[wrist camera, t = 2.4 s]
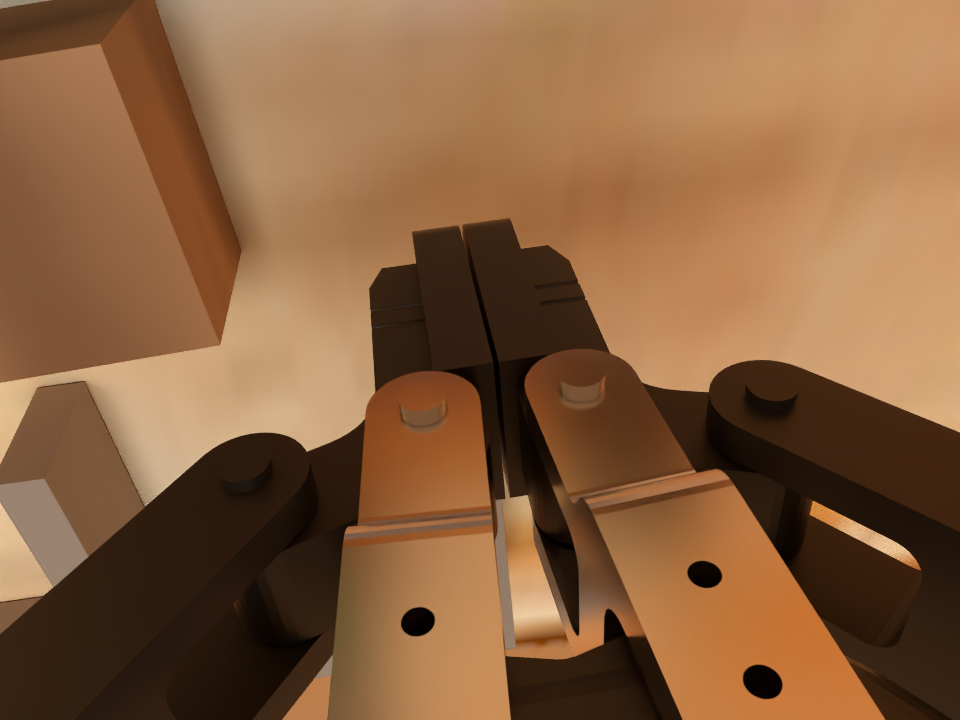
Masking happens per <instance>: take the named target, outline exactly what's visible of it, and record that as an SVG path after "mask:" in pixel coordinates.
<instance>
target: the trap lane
mask: <svg viewBox="0 0 960 720" xmlns="http://www.w3.org/2000/svg"><path fill="white" fill-rule="evenodd" d="M0 503H1V504H2V506H3V508H4V509H5V511H6V512H7V514H8V516H9V517H10V519H11V520H12V522H13V523H14V525H15V527H16V528H17V530H18V531H19V533H20V535H21V536H22V538H23V539H24V541H25V543H26V544H27V546H28V547H29V549H30V550H31V552H32V554H33V555H34V557H35V558H36V560H37V562H38V563H39V565H40V566H41V568H42V570H43V571H44V573H45V574H46V576H47V578H48V579H49V581H50V582H51V584H52V585H53V587H54V586H56V585H57V584H58V583H59V582H60V581H61V580H62V579H64V578H65V577H66V576H67V575H68V574H69V573H70V572H72V571H73V570H74V569H75V568H76V567H77V566H78V565H80V564H81V563H82V562H83V561H84V560H85V559H86V558H88V557H89V556H90V555H91V554H92V553H93V552H94V551H96V550H97V549H98V548H99V547H100V546H101V545H102V544H103V543H105V542H106V541H107V540H108V539H109V538H110V537H111V536H113V535H114V534H115V533H116V532H117V531H118V530H119V529H121V528H122V527H123V526H124V525H125V524H126V523H127V522H129V521H130V520H131V519H132V518H133V517H134V516H135V515H137V514H138V513H139V512H140V511H141V510H142V509H143V508H145V507H144V505H143V503H142V501H141V499H140V497H139V495H138V493H137V491H136V489H135V487H134V484H133V482H132V480H131V478H130V476H129V474H128V472H127V470H126V468H125V466H124V464H123V461H122V459H121V457H120V455H119V453H118V451H117V449H116V447H115V445H114V443H113V441H112V438H111V436H110V434H109V432H108V430H107V428H106V426H105V424H104V422H103V420H102V418H101V415H100V413H99V411H98V409H97V407H96V405H95V403H94V401H93V399H92V397H91V395H90V392H89V390H88V388H87V386H86V384H85V382H79V383H72V384H64V385H57V386H49V387H42V388H37V390H36V392H35V394H34V396H33V398H32V400H31V402H30V404H29V406H28V408H27V410H26V413H25V415H24V417H23V419H22V421H21V423H20V425H19V427H18V429H17V431H16V433H15V435H14V437H13V440H12V442H11V444H10V446H9V448H8V450H7V452H6V454H5V456H4V458H3V460H2V462H1V465H0ZM496 508H497V519H498V533H497V536H496V539H495V547H496V557H497V568H498V578H499V588H500V598H501V608H502V619H503V629H504V639H505V649H512V648H516V644H515V634H514V623H513V613H512V602H511V592H510V581H509V571H508V561H507V550H506V540H505V529H504V519H503V509H502V499H500V500H496ZM41 598H42V597H39V598H32V599H25V600H18V601H11V602H4V603H0V634H1V633H2V632H3V631H4V630H5V629H6V628H8V627H9V626H10V625H11V624H12V623H13V622H14V621H16V620H17V619H18V618H19V617H20V616H21V615H22V614H24V613H25V612H26V611H27V610H28V609H29V608H30V607H32V606H33V605H34V604H35V603H36V602H37V601H38V600H40V599H41ZM332 662H333V655H332V656H331V658H330V659H329V660H328V661H327V663H326V664H325V665H324V667H323V668H322V669H321V670H320V672H319V673H318V674H317V676H316V677H315V678H320V677H327V676H331V673H332Z"/></svg>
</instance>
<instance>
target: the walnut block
mask: <svg viewBox="0 0 960 720" xmlns="http://www.w3.org/2000/svg"><path fill="white" fill-rule="evenodd" d="M240 255H241V248H240V245H239V242H238V239H237V237H236V234H235V231H234V228H233V225H232V222H231V219H230V217H229V214H228V211H227V208H226V205H225V202H224V199H223V197H222V194H221V191H220V188H219V185H218V182H217V179H216V177H215V174H214V171H213V168H212V165H211V162H210V159H209V157H208V154H207V151H206V148H205V145H204V142H203V139H202V137H201V134H200V131H199V128H198V125H197V122H196V119H195V117H194V114H193V111H192V108H191V105H190V102H189V99H188V97H187V94H186V91H185V88H184V85H183V82H182V79H181V77H180V74H179V71H178V68H177V65H176V62H175V59H174V57H173V54H172V51H171V48H170V45H169V42H168V39H167V37H166V34H165V31H164V28H163V25H162V22H161V19H160V17H159V14H158V11H157V8H156V5H155V2H154V0H50V1H44V2H38V3H32V4H26V5H20V6H14V7H8V8H2V9H0V383H1V382H7V381H13V380H19V379H24V378H30V377H36V376H42V375H48V374H54V373H59V372H65V371H71V370H77V369H83V368H89V367H94V366H100V365H106V364H112V363H118V362H124V361H129V360H135V359H141V358H147V357H153V356H159V355H164V354H170V353H176V352H182V351H188V350H194V349H200V348H205V347H211V346H217V345H220V343H221V339H222V335H223V330H224V326H225V321H226V317H227V312H228V308H229V303H230V299H231V295H232V290H233V286H234V281H235V277H236V272H237V268H238V263H239V259H240Z"/></svg>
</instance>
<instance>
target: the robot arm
mask: <svg viewBox="0 0 960 720" xmlns="http://www.w3.org/2000/svg"><path fill="white" fill-rule="evenodd" d="M462 234H463V240H462V236H461V232H460V228H459V225H458V226H450V227H443V228H436V229H429V230H421V231H414V232H412V236H413V243H414V250H415V257H416V264H411V265H404V266H396V267H389V268H382V269H381V271H380V273H379V274H378V276H377V277H376V279H375V280H374V282H373V284H372V285H371V287H370V288H369V292H370V309H371V325H372V342H373V359H374V376H375V394H374V395H373V396H372V398H371V399H370V401H369V403H368V405H367V409H366V418H365V420H364V421H363V422H362V423H361V424H360V425H359V426H358V427H356V428H355V429H354V430H352V431H351V432H350V433H348V434H346V435H345V436H343V437H341V438H339V439H337V440H335V441H333V442H331V443H328V444H326V445H323V446H321V447H318V448H316V449H313V450H310V451H308V452H306V450H305V449H304V447H303V446H302V445H301V444H300V443H299V442H297V441H296V440H294V439H292V438H290V437H288V436H285V435H281V434H276V433H254V434H248V435H244V436H240V437H237V438H234V439H231V440H229V441H226V442H224V443H222V444H220V445H218V446H217V447H215V448H213V449H212V450H210V451H209V452H208V453H207V454H205V455H204V456H203V457H202V458H200V459H199V460H198V461H197V462H196V463H195V464H194V465H193V466H191V467H190V468H189V469H188V470H187V471H186V472H185V473H183V474H182V475H181V476H180V477H179V478H178V479H177V480H175V481H174V482H173V483H172V484H171V485H170V486H169V487H167V488H166V489H165V490H164V491H163V492H162V493H161V494H159V495H158V496H157V497H156V498H155V499H154V500H153V501H151V502H150V503H149V504H148V505H147V506H146V507H145V508H143V509H142V510H141V511H140V512H139V513H138V514H137V515H135V516H134V517H133V518H132V519H131V520H130V521H129V522H127V523H126V524H125V525H124V526H123V527H122V528H121V529H119V530H118V531H117V532H116V533H115V534H114V535H113V536H111V537H110V538H109V539H108V540H107V541H106V542H105V543H103V544H102V545H101V546H100V547H99V548H98V549H97V550H96V551H94V552H93V553H92V554H91V555H90V556H89V557H88V558H86V559H85V560H84V561H83V562H82V563H81V564H80V565H78V566H77V567H76V568H75V569H74V570H73V571H72V572H70V573H69V574H68V575H67V576H66V577H65V578H64V579H62V580H61V581H60V582H59V583H58V584H57V585H56V586H54V587H53V588H52V589H51V590H50V591H49V592H48V593H46V594H45V595H44V596H43V597H42V598H41V599H40V600H38V601H37V602H36V603H35V604H34V605H33V606H32V607H30V608H29V609H28V610H27V611H26V612H25V613H24V614H22V615H21V616H20V617H19V618H18V619H17V620H16V621H14V622H13V623H12V624H11V625H10V626H9V627H8V628H6V629H5V630H4V631H3V632H2V633H1V634H0V720H282V719H283V718H284V716H285V715H286V714H287V712H288V711H289V710H290V709H291V707H292V706H293V705H294V704H295V702H296V701H297V699H298V698H299V697H300V696H301V695H302V693H303V692H304V691H305V690H306V688H307V687H308V685H309V684H310V683H311V682H312V681H313V679H314V678H315V677H316V676H317V674H318V673H319V672H320V670H321V669H322V668H323V667H324V665H325V664H326V663H327V661H328V660H329V659H330V658H331V656H332V655H333V662H332V673H331V685H330V697H329V708H328V719H327V720H960V433H959V432H957V431H955V430H952V429H950V428H947V427H945V426H942V425H940V424H937V423H935V422H932V421H930V420H927V419H925V418H923V417H920V416H918V415H915V414H913V413H910V412H908V411H905V410H903V409H900V408H898V407H895V406H893V405H891V404H888V403H886V402H883V401H881V400H878V399H876V398H873V397H871V396H868V395H866V394H863V393H861V392H859V391H856V390H854V389H851V388H849V387H846V386H844V385H841V384H839V383H836V382H834V381H831V380H829V379H827V378H824V377H822V376H819V375H817V374H814V373H812V372H809V371H807V370H804V369H802V368H799V367H797V366H794V365H791V364H787V363H783V362H777V361H770V360H754V361H746V362H740V363H737V364H734V365H731V366H729V367H727V368H725V369H723V370H722V371H721V372H719V373H718V374H717V375H716V376H715V377H714V378H713V380H712V382H711V384H710V388H709V393H707V392H693V391H679V390H669V389H662V388H658V387H653V386H650V385H647V384H644V383H642V382H641V380H640V379H639V377H638V375H637V374H636V372H635V371H634V369H633V368H632V367H631V366H630V365H629V364H628V363H627V362H626V361H624V360H622V359H621V358H619V357H617V356H615V355H613V354H610V352H609V350H608V348H607V345H606V343H605V341H604V339H603V336H602V334H601V332H600V329H599V327H598V325H597V323H596V320H595V318H594V316H593V314H592V311H591V309H590V307H589V305H588V302H587V300H585V296H584V293H583V291H582V289H581V287H580V284H578V280H577V278H576V275H575V273H574V271H573V268H572V266H571V264H570V262H569V260H568V259H566V258H565V257H563V256H562V255H561V254H559V253H558V252H557V251H555V250H554V249H552V248H551V247H550V246H548V245H546V246H539V247H532V248H525V249H521V248H520V245H519V242H518V239H517V237H516V234H515V231H514V228H513V226H512V223H511V220H510V219H509V218H508V219H501V220H493V221H486V222H479V223H471V224H464V225H462ZM502 464H503V467H502ZM503 469H504V473H505V478H506V482H507V486H508V491H509V495H510V498H511V497H518V496H524V495H528V498H529V501H530V505H531V509H532V517H533V534H534V542H535V546H536V549H537V552H538V554H539V557H540V560H541V563H542V566H543V569H544V572H545V575H546V577H547V580H548V583H549V586H550V589H551V592H552V595H553V598H554V600H555V603H556V606H557V609H558V612H559V615H560V618H561V621H562V623H563V626H564V629H565V632H566V635H567V638H568V641H569V644H570V647H571V649H572V652H573V656H574V657H572V658H568V659H563V660H562V659H561V660H560V659H559V660H554V659H539V658H524V657H508V656H506V649H505V639H504V629H503V619H502V608H501V598H500V588H499V578H498V568H497V557H496V547H495V539H496V536H497V533H498V519H497V508H496V500H500V499H505V490H504V479H503ZM813 501H815V502H817V503H819V504H821V505H823V506H825V507H827V508H829V509H831V510H833V511H835V512H837V513H839V514H841V515H843V516H845V517H847V518H849V519H851V520H853V521H855V522H857V523H859V524H861V525H863V526H865V527H867V528H869V529H871V530H873V531H875V532H877V533H879V534H881V535H883V536H885V537H887V538H889V539H891V540H893V541H895V542H897V543H898V544H900V545H901V546H903V547H904V548H905V549H907V550H908V551H909V552H910V553H911V554H912V555H913V556H914V558H915V559H916V561H917V562H918V564H919V566H920V568H921V571H920V570H917V569H915V568H912V567H910V566H908V565H906V564H904V563H902V562H900V561H899V560H897V559H895V558H893V557H891V556H889V555H887V554H885V553H883V552H881V551H879V550H877V549H875V548H873V547H871V546H869V545H867V544H865V543H863V542H861V541H859V540H858V539H856V538H854V537H852V536H850V535H848V534H846V533H844V532H842V531H840V530H838V529H836V528H834V527H832V526H830V525H828V524H826V523H824V522H822V521H820V520H818V519H817V518H815V517H813V516H811V515H810V510H811V506H812V502H813Z"/></svg>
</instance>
